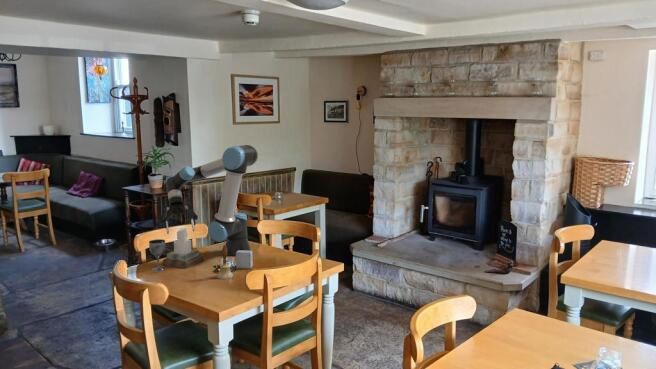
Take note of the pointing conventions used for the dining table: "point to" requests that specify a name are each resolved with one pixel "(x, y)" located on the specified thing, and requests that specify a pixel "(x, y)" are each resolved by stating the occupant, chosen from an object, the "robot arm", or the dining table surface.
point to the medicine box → (244, 259)
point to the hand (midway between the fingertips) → (181, 231)
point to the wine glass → (157, 251)
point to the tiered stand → (183, 259)
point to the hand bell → (224, 266)
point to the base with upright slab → (182, 242)
